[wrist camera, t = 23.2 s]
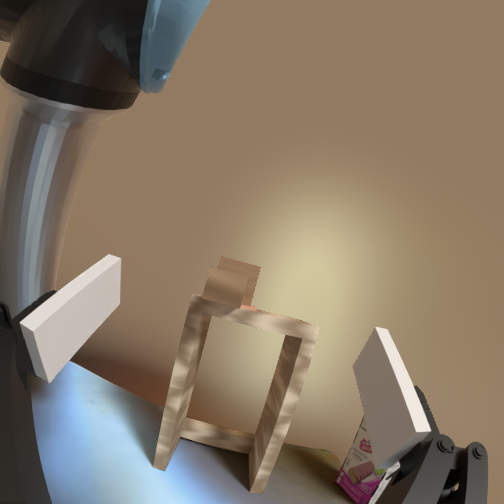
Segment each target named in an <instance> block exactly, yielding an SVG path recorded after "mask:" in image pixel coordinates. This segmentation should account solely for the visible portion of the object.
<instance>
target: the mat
mask: <svg viewBox="0 0 504 504" xmlns="http://www.w3.org/2000/svg"><path fill="white" fill-rule="evenodd" d="M202 296H203V294H202ZM241 308H245V309H248V310H252V311H256V310H257V309H256V308H255V307H254V306H250V307H249V306H245V305H241Z"/></svg>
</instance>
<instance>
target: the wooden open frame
mask: <svg viewBox="0 0 504 504" xmlns="http://www.w3.org/2000/svg"><path fill="white" fill-rule="evenodd" d="M212 315H213V316H216V317H220V318H223V319H227V320H230V321H234V322H238V323H241V324H245V325H250V326H253V327H257V328H261V329H265V330H269V331H273V332H277V333H281V334H285V339H284V342H283V346H282V349H281V353H280V356H279V360H278V363H277V367H276V370H275V373H274V377H273V380H272V383H271V387H270V390H269V393H268V396H267V400H266V403H265V406H264V409H263V412H262V415H261V418H260V421H259V424H258V427H257V430H256V433H255V434H251V433H246V432H241V431H236V430H232V429H228V428H224V427H220V426H216V425H212V424H209V423H205V422H201V421H198V420H195V419H191V418H188V417H186V415H187V410H188V407H189V402H190V399H191V394H192V391H193V387H194V383H195V378H196V375H197V371H198V367H199V362H200V359H201V355H202V351H203V347H204V343H205V339H206V336H207V332H208V328H209V325H210V321H211V317H212ZM319 329H320V327H317V326H314V325H312V324H309V323H307V322H304V321H302V320H298V319H294V318H290V317H286V316H282V315H278V314H274V313H270V312H266V311H262V310H258V309H257V310H256V311H252V310H248V309H245V308H241V307H240V309H237V308H234V307H230V306H227V305H223V304H219V303H216V302H212V301H209V300H205V299H202V295H194V294H193V295H192V298H191V302H190V305H189V309H188V313H187V317H186V321H185V324H184V328H183V332H182V336H181V340H180V344H179V348H178V352H177V357H176V361H175V365H174V369H173V373H172V378H171V382H170V386H169V391H168V395H167V400H166V404H165V409H164V414H163V418H162V423H161V428H160V433H159V438H158V443H157V449H156V454H155V459H154V465H153V467H154V468H157V469H160V470H163V471H165V470H166V468H167V466H168V464H169V461H170V459H171V457H172V455H173V453H174V451H175V449H176V447H177V444H178V442H179V440H180V438H181V437H183V438H187V439H190V440H193V441H197V442H200V443H204V444H208V445H211V446H215V447H219V448H224V449H228V450H232V451H237V452H242V453H247V454H249V479H250V492H253V493H260V494H262V493H263V490H264V488H265V486H266V483H267V481H268V479H269V476H270V474H271V472H272V469H273V467H274V464H275V462H276V459H277V457H278V454H279V452H280V449H281V447H282V444H283V441H284V439H285V436H286V433H287V431H288V428H289V425H290V422H291V420H292V417H293V414H294V411H295V408H296V405H297V402H298V399H299V396H300V393H301V390H302V387H303V383H304V380H305V377H306V374H307V371H308V367H309V364H310V361H311V358H312V354H313V351H314V347H315V344H316V340H317V336H318V333H319Z"/></svg>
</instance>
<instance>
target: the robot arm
mask: <svg viewBox="0 0 504 504" xmlns="http://www.w3.org/2000/svg"><path fill="white" fill-rule="evenodd" d="M210 1H211V0H0V40H2V41H6V42H10V46H9V48H8V51H7V54H6V57H5V59H4V62H3V65H2V68H1V70H0V83H1V84H2V86H3V88H4V90H5V92H6V94H7V95H8V98H9V101H8V105H7V109H6V112H5V116H4V120H3V124H2V128H1V133H0V504H52V502H51V499H50V496H49V492H48V489H47V485H46V482H45V478H44V474H43V470H42V466H41V461H40V457H39V452H38V446H37V441H36V435H35V428H34V421H33V412H32V402H31V389H30V374H33V375H34V376H36V377H40V378H42V379H43V380H45V381H46V382H48V383H49V384H50V382H51V381H52V380H53V379H54V378H56V377H57V376H58V374H59V373H60V370H61V369H62V368H63V367H64V366H65V364H66V363H67V362H68V361H69V360H70V358H71V357H72V356H73V355H74V354H75V353H76V352H77V350H78V349H79V348H80V347H81V346H82V345H83V344H84V342H85V341H86V340H87V339H88V338H89V337H90V336H91V335H92V333H93V332H94V331H95V330H96V329H97V328H98V327H99V326H100V325H101V324H102V323H103V321H104V320H105V319H106V318H107V317H108V316H109V315H110V314H111V313H112V312H113V311H114V309H116V307H117V306H118V305H119V304H120V275H121V258H118V257H115V256H112V255H107V256H106V257H104V258H103V259H102V260H100V261H99V262H97V263H96V264H95V265H93V266H92V267H91V268H89V269H88V270H86V271H85V272H84V273H82V274H81V275H79V276H78V277H77V278H75V279H74V280H73V281H71V282H70V283H69V284H67V285H66V286H65V287H63V288H62V289H61V290H60V291H57V290H56V289H55V286H56V279H57V273H58V268H59V262H60V257H61V252H62V247H63V242H64V238H65V234H66V230H67V226H68V222H69V218H70V214H71V211H72V207H73V203H74V200H75V197H76V194H77V190H78V187H79V184H80V181H81V178H82V175H83V172H84V170H85V167H86V164H87V161H88V159H89V156H90V153H91V151H92V148H93V146H94V143H95V141H96V138H97V136H98V134H99V131H100V129H101V127H102V124H103V123H104V121H106V120H107V119H110V118H112V117H114V116H117V115H120V114H122V113H125V112H127V111H129V110H130V109H131V107H132V105H133V103H134V102H135V100H136V98H137V96H138V94H139V93H140V90H142V91H144V92H146V93H159V92H161V91H162V90H163V88H164V86H165V84H166V82H167V79H168V77H169V75H170V73H171V71H172V69H173V67H174V65H175V63H176V61H177V59H178V57H179V55H180V54H181V52H182V50H183V48H184V46H185V44H186V42H187V40H188V38H189V37H190V35H191V33H192V31H193V30H194V28H195V26H196V24H197V23H198V21H199V19H200V18H201V16H202V14H203V13H204V11H205V9H206V8H207V6H208V4H209V3H210ZM353 369H354V373H355V377H356V381H357V385H358V389H359V393H360V398H361V402H362V406H363V410H364V415H365V420H366V424H367V429H368V434H369V439H370V444H371V449H372V454H373V460H374V465H375V469H383V468H391V467H392V466H393V465H394V464H396V463H397V462H398V461H399V464H400V467H399V468H398V469H397V470H396V471H394V472H393V473H392V474H390V475H389V476H388V477H387V478H386V479H385V480H388V479H389V478H391V477H392V478H391V479H390V481H389V483H388V484H387V486H386V487H385V489H384V490H383V492H382V494H381V495H380V497H379V498H378V499H377V501H376V502H375V504H487V490H488V459H487V458H488V457H487V451H486V449H485V448H484V446H483V445H482V444H480V443H478V442H473V443H471V444H469V445H468V446H467V447H466V448H465V449H464V448H459V447H455V445H454V443H453V441H452V440H451V439H450V438H449V437H448V436H446V435H444V434H440V433H439V430H438V428H437V425H436V423H435V421H434V418H433V415H432V413H431V411H430V408H429V406H428V404H427V401H426V399H425V396H424V394H423V393H422V391H421V390H420V389H419V388H418V387H417V386H413V384H412V382H411V379H410V377H409V375H408V372H407V370H406V368H405V366H404V364H403V362H402V359H401V357H400V355H399V353H398V351H397V349H396V346H395V344H394V342H393V340H392V338H391V336H390V334H389V332H388V330H387V329H383V328H378V327H375V328H374V330H373V332H372V334H371V335H370V337H369V339H368V341H367V343H366V345H365V346H364V348H363V350H362V351H361V353H360V355H359V356H358V358H357V360H356V361H355V363H354V365H353ZM29 373H30V374H29ZM458 483H459V486H458V489H457V490H456V491H455V485H457V484H458Z"/></svg>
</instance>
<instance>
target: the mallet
mask: <svg viewBox="0 0 504 504" xmlns="http://www.w3.org/2000/svg"><path fill="white" fill-rule="evenodd" d="M259 272H260V267H259V266H255V265H251V264H248V263H244V262H240V261H236V260H233V259H229V258H226V257H222V256H221V258H220V262H219V266H218V268H215V267H212V266H211V267H210V271H209V274H208V278H207V281H206V285H205V288H204V292H203V296H202V299H205V300H209V301H212V302H216V303H219V304H223V305H227V306H230V307H234V308H237V309H240V307H241V305H245V306H249V307H250V305H251V301H252V298H253V294H254V290H255V287H256V283H257V279H258V275H259Z"/></svg>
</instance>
